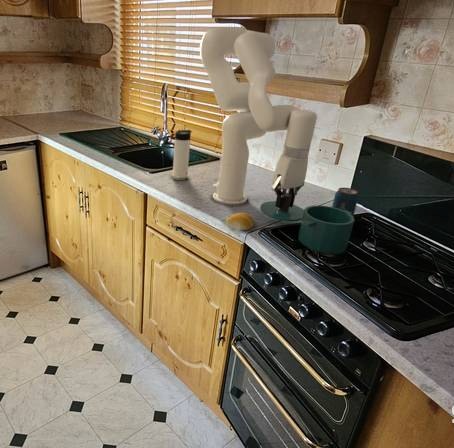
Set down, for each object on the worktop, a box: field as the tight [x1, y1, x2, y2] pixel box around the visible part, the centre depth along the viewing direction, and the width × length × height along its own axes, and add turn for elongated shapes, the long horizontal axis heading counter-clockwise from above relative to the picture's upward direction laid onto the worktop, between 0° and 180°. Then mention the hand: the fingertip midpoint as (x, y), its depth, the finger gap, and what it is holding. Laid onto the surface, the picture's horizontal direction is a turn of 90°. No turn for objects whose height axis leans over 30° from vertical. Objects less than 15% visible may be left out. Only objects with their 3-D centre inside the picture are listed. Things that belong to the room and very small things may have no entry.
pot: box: [298, 205, 355, 256], centre depth 119 cm, size 14×19×10 cm
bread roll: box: [225, 212, 255, 231], centre depth 129 cm, size 8×9×4 cm
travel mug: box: [171, 129, 193, 181], centre depth 166 cm, size 6×7×20 cm
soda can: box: [331, 187, 359, 217], centre depth 132 cm, size 7×7×12 cm
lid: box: [259, 192, 304, 222], centre depth 131 cm, size 15×15×7 cm
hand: (283, 206), depth 131 cm, fingers closed on lid, 3 cm apart
